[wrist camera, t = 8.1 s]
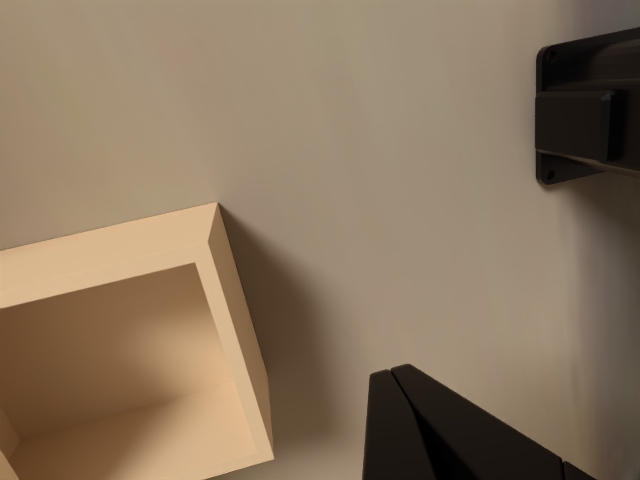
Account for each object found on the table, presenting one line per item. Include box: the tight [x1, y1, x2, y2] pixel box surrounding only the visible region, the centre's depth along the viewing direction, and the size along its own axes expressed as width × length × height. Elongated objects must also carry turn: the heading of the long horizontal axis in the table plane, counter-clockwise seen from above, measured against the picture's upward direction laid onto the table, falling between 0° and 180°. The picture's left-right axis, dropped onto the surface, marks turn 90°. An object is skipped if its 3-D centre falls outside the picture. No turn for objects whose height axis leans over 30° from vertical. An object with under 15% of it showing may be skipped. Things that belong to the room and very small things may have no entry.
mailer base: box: [0, 202, 274, 480], centre depth 18 cm, size 13×10×6 cm
